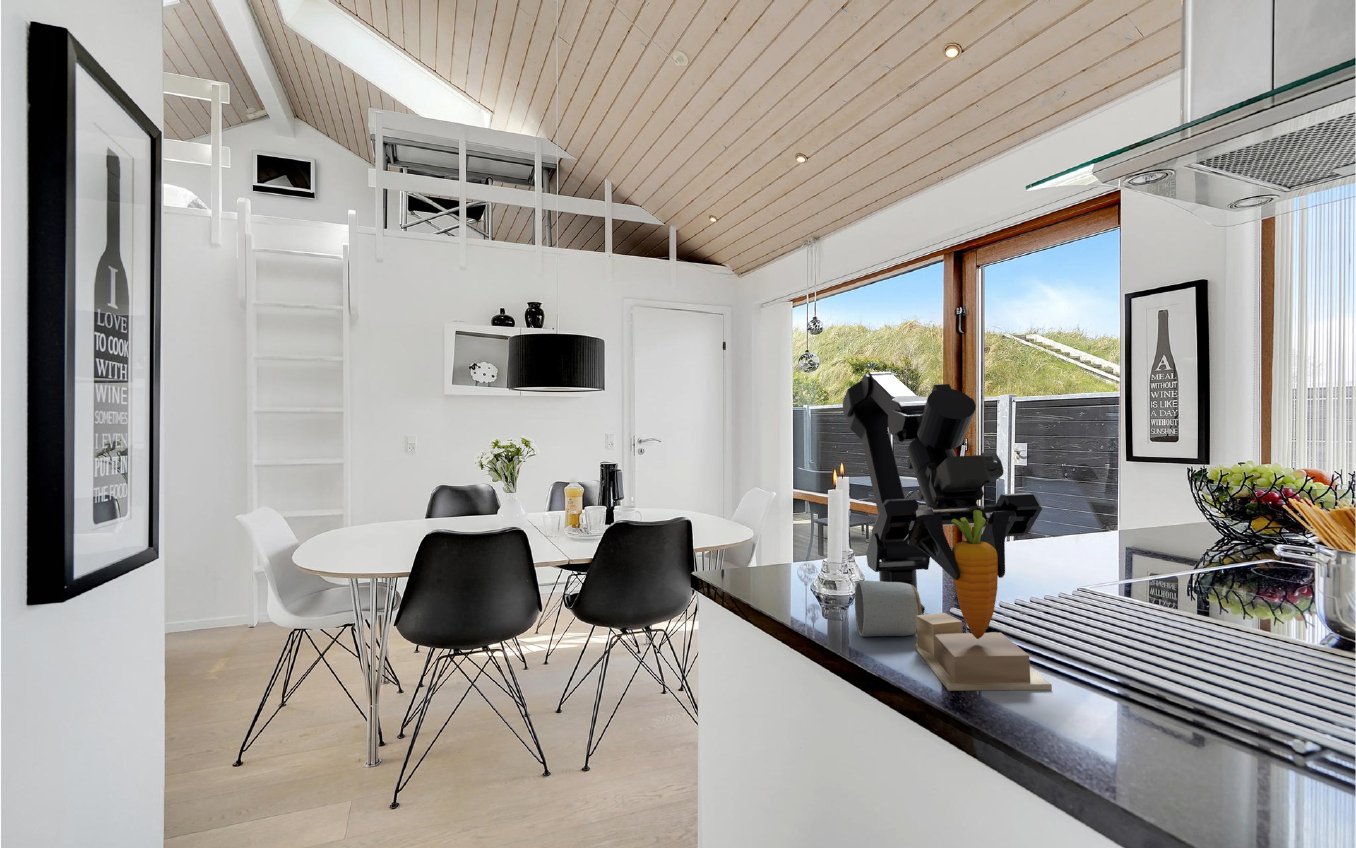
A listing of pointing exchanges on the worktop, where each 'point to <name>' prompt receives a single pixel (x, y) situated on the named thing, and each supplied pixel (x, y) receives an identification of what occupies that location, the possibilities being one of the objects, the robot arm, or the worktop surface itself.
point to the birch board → (1035, 679)
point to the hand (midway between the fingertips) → (980, 577)
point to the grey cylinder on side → (886, 608)
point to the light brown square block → (981, 658)
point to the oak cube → (935, 629)
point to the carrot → (975, 575)
